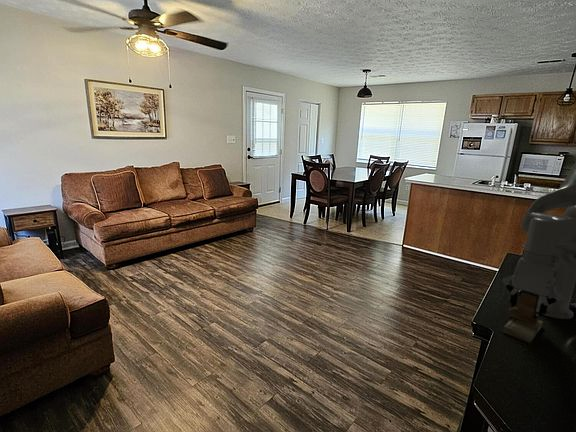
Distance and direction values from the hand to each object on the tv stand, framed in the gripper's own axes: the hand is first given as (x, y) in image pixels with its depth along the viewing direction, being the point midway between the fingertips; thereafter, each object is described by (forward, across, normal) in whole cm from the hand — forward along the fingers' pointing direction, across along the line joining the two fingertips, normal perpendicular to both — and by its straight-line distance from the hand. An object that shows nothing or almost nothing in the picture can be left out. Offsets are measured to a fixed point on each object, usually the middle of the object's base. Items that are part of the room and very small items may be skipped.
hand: (526, 309), depth 101 cm
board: (+6, 0, +3) cm, 6 cm away
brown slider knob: (+6, 0, 0) cm, 6 cm away
